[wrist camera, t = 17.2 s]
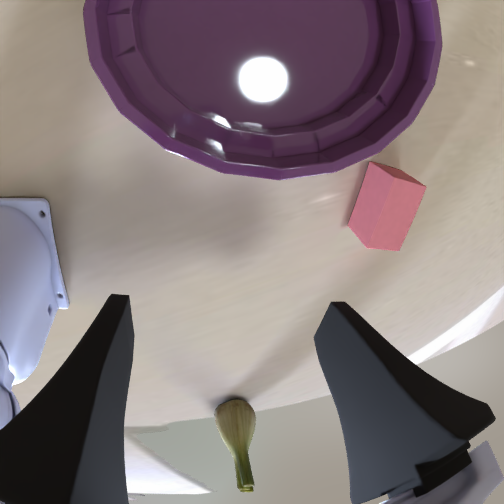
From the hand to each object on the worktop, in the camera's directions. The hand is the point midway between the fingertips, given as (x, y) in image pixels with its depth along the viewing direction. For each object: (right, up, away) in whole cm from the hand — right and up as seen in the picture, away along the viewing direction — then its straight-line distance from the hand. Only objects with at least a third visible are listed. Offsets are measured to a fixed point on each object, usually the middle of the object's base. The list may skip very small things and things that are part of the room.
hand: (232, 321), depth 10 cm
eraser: (+9, +6, +9) cm, 15 cm away
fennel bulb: (-2, -16, +23) cm, 28 cm away
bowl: (+2, +15, +2) cm, 15 cm away
